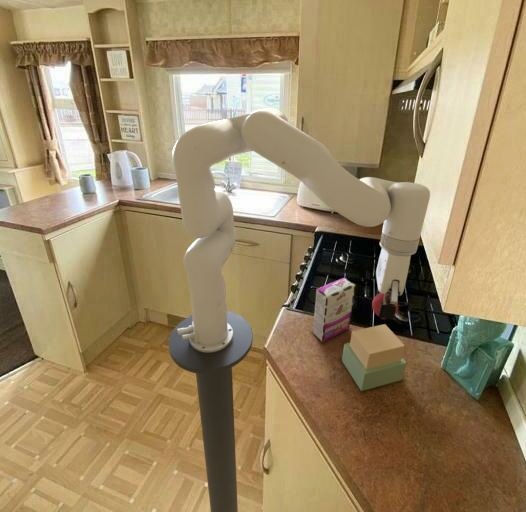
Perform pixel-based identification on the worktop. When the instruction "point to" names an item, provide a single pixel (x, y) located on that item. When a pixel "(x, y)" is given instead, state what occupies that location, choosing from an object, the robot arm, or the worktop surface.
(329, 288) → the candy bar box
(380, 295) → the onion
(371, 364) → the box stack
